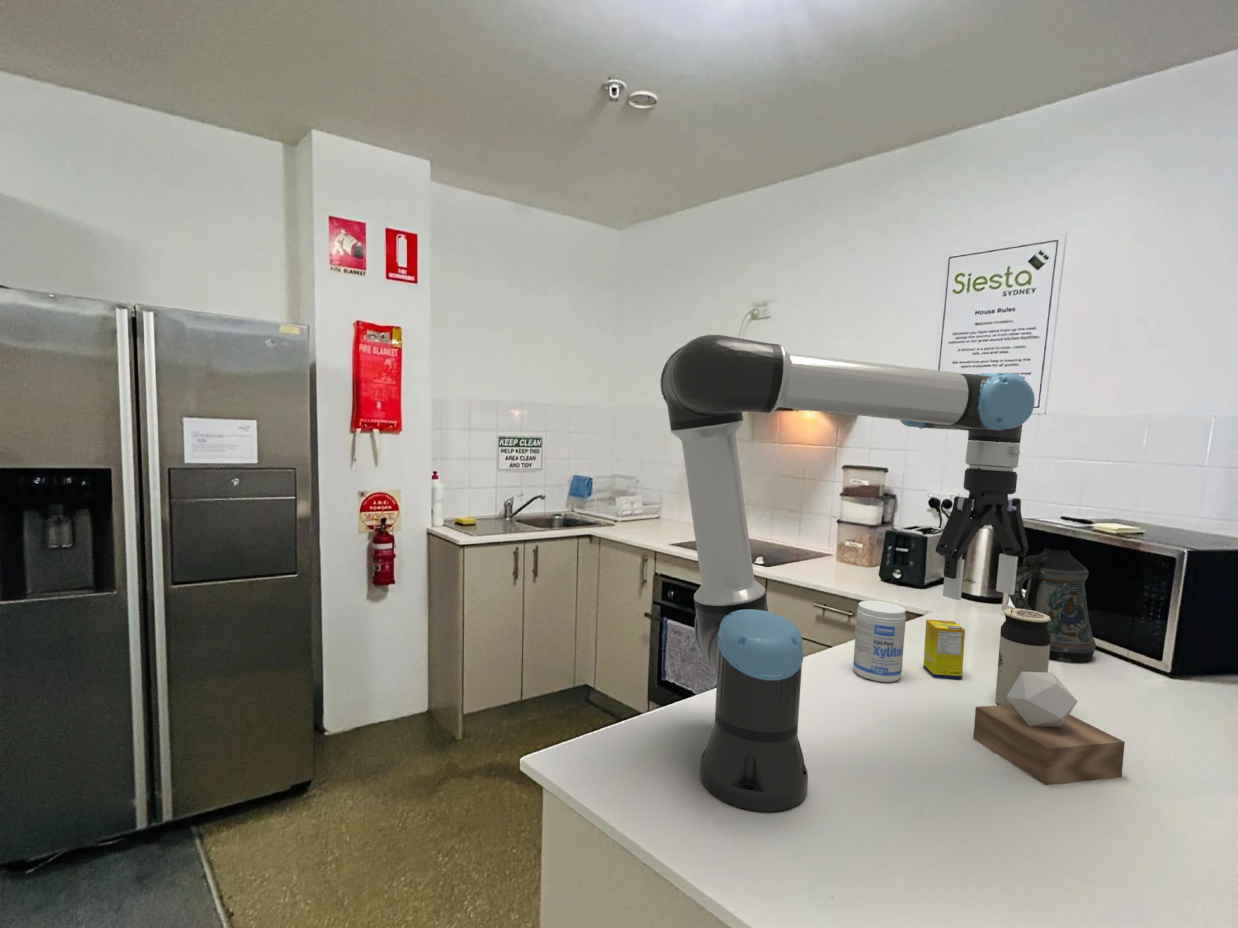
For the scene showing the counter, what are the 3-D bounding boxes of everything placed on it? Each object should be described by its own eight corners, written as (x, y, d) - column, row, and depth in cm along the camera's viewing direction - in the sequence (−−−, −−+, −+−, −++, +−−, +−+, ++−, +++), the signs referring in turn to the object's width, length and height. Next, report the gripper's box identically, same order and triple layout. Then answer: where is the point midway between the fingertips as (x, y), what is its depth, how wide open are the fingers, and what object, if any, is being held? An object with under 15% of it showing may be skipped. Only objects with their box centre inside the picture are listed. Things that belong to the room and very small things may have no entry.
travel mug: (1048, 707, 121) (1055, 614, 120) (1040, 720, 116) (1047, 622, 115) (1000, 694, 127) (1007, 605, 126) (990, 706, 121) (997, 612, 120)
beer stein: (1106, 656, 152) (1115, 552, 150) (1071, 671, 141) (1081, 559, 140) (1030, 636, 166) (1037, 540, 164) (993, 648, 155) (1001, 546, 153)
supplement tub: (876, 686, 129) (881, 614, 128) (842, 668, 137) (847, 601, 136) (912, 680, 132) (916, 610, 131) (877, 663, 141) (881, 598, 140)
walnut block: (1045, 787, 94) (1048, 748, 94) (973, 741, 108) (975, 706, 107) (1121, 779, 97) (1124, 741, 97) (1041, 735, 111) (1044, 702, 110)
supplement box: (950, 669, 139) (954, 620, 139) (962, 680, 134) (966, 628, 133) (922, 667, 140) (925, 618, 139) (932, 678, 134) (936, 627, 133)
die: (1073, 745, 96) (1096, 689, 99) (1020, 712, 97) (1045, 657, 100) (1037, 738, 104) (1059, 687, 106) (989, 707, 105) (1012, 657, 108)
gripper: (961, 468, 96) (948, 606, 97) (1060, 472, 107) (1047, 596, 108) (919, 464, 103) (907, 593, 104) (1016, 468, 114) (1004, 585, 115)
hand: (979, 595), depth 106 cm, fingers open, 13 cm apart
